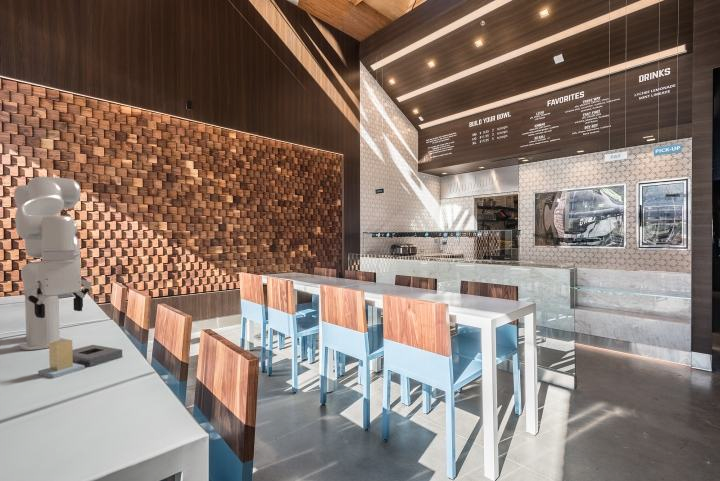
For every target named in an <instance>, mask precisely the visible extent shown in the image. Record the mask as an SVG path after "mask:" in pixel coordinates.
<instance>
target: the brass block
mask: <svg viewBox="0 0 720 481" xmlns="http://www.w3.org/2000/svg"><path fill="white" fill-rule="evenodd" d="M72 350H73V340H72V339H67V338H64V339H62V340H58V341H53V342H49V351H48V352H49V354H48V355H49V368H50V370H55V371H60V370H63V369H67V368H70V367H73V352H72Z"/></svg>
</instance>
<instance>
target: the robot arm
mask: <svg viewBox="0 0 720 481" xmlns="http://www.w3.org/2000/svg"><path fill="white" fill-rule="evenodd" d="M81 192H82V191H81V187H80V184H79V182H77V181H76V180H75V179H72V178H65V177H54V176H37V177H33V178H31V179H30V180H29V181H28V183H27V184H24V185H23V184H21V185H19V186H16V188H15V189H14V191H13V198H14V202H15V205H16V208H17V209H16V211H15V215H14V216H15V217H14V221H15V222H14V223H15V228H16V233H17V235H18V236H19V237H20V238H21V239H22V240H24V245H25V246H24V247H25V252H26V255H27V256H28V257H30V258H33V259H34V258H36V259H41V261H32V262H28V263H26V264H24V265H23V267H22V268H21V270H20V274H21V275H20V277H21V280H22V285H23V290H21V293H22V294H23V295H24V306H25V307H24V309H25V339H26V340H25V343H23V344H21V345H20V349H21V350H23V351H34V350H35V351H36V350H43V349H48V348H49V342H53V341H58V340H62V339H65V338H63V337H60V335H61V334H60V306H59V305H60V301H59V296H63V295H64V296H65V295H69V294H70V295H71V294H72V295H73V296H74V298H73V310H74V311H76V312H82V311H83V307H84V300H83V299H84V298H85V296H86V294H88V293H89V292H90V289H91V286H92V285H93V284H92V282H91V281H89V280H85V279H82V266H81V265H82V262H81V250H80V249H81V248H80V241H79V239H78V236H77V235H76V234H77V232H78V224H77V222H76V221H75V220H74V218H73V217H72V216H69V215H58V214H60V213H61V212H62V211H63V210H71V209H73V208H74V207H75V206H77V205H76V204H78V203H79V201H80V198H81V196H82V195H81V194H82V193H81ZM82 285H83V288H82Z"/></svg>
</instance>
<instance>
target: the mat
mask: <svg viewBox="0 0 720 481" xmlns="http://www.w3.org/2000/svg"><path fill="white" fill-rule="evenodd" d="M84 369H85V366H84V365H80V364H76V363H73V367H70V368H67V369H63V370H60V371H55V370H50V367H48V368H43V369H40V370H37V372H38V375H41V376H45V377H48V378H52V379H55V378H58V377H61V376H64V375H68V374H72V373H74V372H77V371H81V370H84Z"/></svg>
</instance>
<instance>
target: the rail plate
mask: <svg viewBox="0 0 720 481" xmlns="http://www.w3.org/2000/svg"><path fill="white" fill-rule="evenodd" d="M72 352H73V363H76V364H80V365H84V367H87V368H91V367H95V366H97V365H100V364H104V363H108V362H110V361H114V360H117V359H120V358H121V359H122V358H123V349H120V348H115V347H108V346H103V345H96V344H90V345H86V346H83V347H77V348H75V349H72Z"/></svg>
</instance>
